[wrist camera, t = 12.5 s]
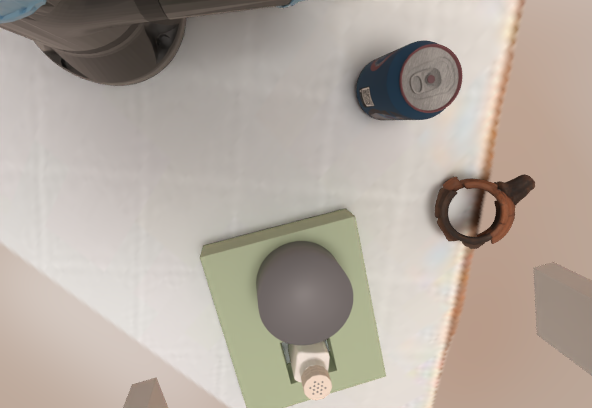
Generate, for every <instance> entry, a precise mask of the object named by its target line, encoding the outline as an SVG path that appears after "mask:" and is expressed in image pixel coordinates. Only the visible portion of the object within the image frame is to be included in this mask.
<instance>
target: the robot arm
mask: <svg viewBox="0 0 592 408" xmlns="http://www.w3.org/2000/svg"><path fill="white" fill-rule="evenodd" d="M301 1H307V0H0V28H3V29H5V30H8V31H11V32H13V33H16V34H18V35H21V36H24V37H26V38H29V39H31V40H34V42H35V43H36V44H37V46H38V47H39V48H40V49H41V50H42V51H43V52H44V53H45V54H46V55H47V56H48V57H49V58H50V59H51V60H52V61H53V62H55V63H56V64H57V65H59V66H60V67H61V68H63V69H64V70H66V71H68V72H70V73H71V74H73V75H75V76H78V77H80V78H83V79H86V80H89V81H92V82H96V83H100V84H105V85H114V86H123V85H131V84H135V83H139V82H142V81H145V80H147V79H149V78H151V77H153V76H154V75H156V74H158V73H159V72H160V71H161V70H163V69H164V68H165V67H166V66H167V65H168V64H169V63H170V61H171V60H172V59H173V57H174V56H175V54H176V53H177V51H178V49H179V47H180V44H181V42H182V39H183V35H184V31H185V24H186V18H187V17H195V16H203V15H210V14H218V13H226V12H234V11H242V10H250V9H258V8H266V7H274V6H275V7H278V8H287V7H288V6H293V5H295V4H296V3H298V2H301ZM534 286H535V307H536V326H537V335H538V336H539V337H541V338H542V339H543V340H545V341H546V342H547V343H549V344H550V345H551V346H553V347H554V348H555V349H557V350H558V351H559V352H561V353H562V354H563V355H565V356H566V357H567V358H569V359H570V360H571V361H573V362H574V363H575V364H577V365H578V366H579V367H581V368H582V369H584V370H585V371H586V372H588V373H589V374H590V375H591V376H592V280H590V279H588V278H586V277H584V276H582V275H580V274H577V273H575V272H573V271H571V270H569V269H567V268H565V267H563V266H561V265H559V264H557V263H554V262H552V263H548V264H545V265H542V266H538V267H535V268H534ZM123 408H168V406H167V403H166V401H165V398H164V396H163V393H162V391H161V388H160V386H159V383H158V380H157V378H153V379H150V380H146V381H143V382H139V383H136V384H133V385H132V386H131V389H130V391H129V394H128V396H127V399H126V402H125V404H124V407H123Z"/></svg>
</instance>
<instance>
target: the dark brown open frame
mask: <svg viewBox="0 0 592 408" xmlns="http://www.w3.org/2000/svg"><path fill="white" fill-rule="evenodd" d="M464 187H465V188H466V189H471V188H479V189H483V190H485V191H488V192H489V193H491V194H492V195H493V196H494V197H495V198H496V199H497V201H495V206H496V216H495V220H494V222H493V224H492V225H491V227H489V228H488V229H487V230H486V231H484V232H482V233H480V234H478V235H477V237H469V236H465V235H462V234H460V233H458V232H457V231H456V230H455V229H454V228H453V227H452V225H451V224H450V221H449V218H448V208H449V204H450V202H451V200H452V199H453V198H454V196H455V195H456V194H457V192H456V191H457V190H459V189H461V188H464ZM534 187H535V182H534V180H533V179H532V178H531V177H530V176H528V175H521V176H518V177H517V178H515V179H512V180H510V181H508V182H506V183H503V182H497V183H496V182H494V183H492V182H488V181H485V180H480V179H463V180H460V181H459V180H458V179H457V177H453V178H451V179H449V180H448V181H446V182H445V183H444V184H443V188H441V189H440V190H439V193H438V196H437V200H436V204H435V217H436V218H438V220H437V224H438V225H439V227H440V229H441V230H442V231H443V233H444V235H445V236H446V239H447V240H448V241H457V240H460V241H462V243H463V244H464V245H465V246H467V247H469V248H470V249H477V248H479V247H480V246H481V245H483V244H484V243H485V242H487V241H489V240H491V243H492V244H494V243H496V242H498V241H499V240H501V239H502V238H503V237H504V236H505V235H506V234H507V233H508V231H509V230H510V228H511V226H512V224H513V221H514V216H515V205H516V204H517V203H518V202H519V201H520V200H522V199H523V198H524V197H525V196H526V195H527V194H528V193H529V192H530V191H531V190H532V189H534Z"/></svg>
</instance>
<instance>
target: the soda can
mask: <svg viewBox="0 0 592 408" xmlns="http://www.w3.org/2000/svg"><path fill="white" fill-rule="evenodd" d="M461 84H462V68H461V65H460V62H459V60H458V58H457V56H456V55H455V54H454V53H453V52H452V51H451V50H450V49H448V48H447V47H445V46H443V45H439V44H437V43H435V42H431V41H417V42H414V43H411V44H409V45H407V46H404V47H402V48H400V49H398V50H395V51H393V52H391V53H389V54H386V55H384V56H382V57H380V58H378V59H375V60H373V61H372V62H370V63H369V64H368V65H367V66H366V67H365V68H364V69H363V70H362V72H361V74H360V76H359V78H358V81H357V88H356V92H357V98H358V102H359V104H360V106H361V108H362V109H363V110H364V111H365V112H366V113H367V114H368V115H369V116H371V117H373V118H375V119H378V120H423V119H428V118H431V117H434V116H436V115H438V114H439V113H441V112H442V111H443V110H444V109H445V108H446V107H447V106H449V105H450V104H451V103H452V102H453V101H454V99H455V98H456V96H457V95H458V93H459V90H460V88H461Z"/></svg>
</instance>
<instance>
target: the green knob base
mask: <svg viewBox="0 0 592 408" xmlns="http://www.w3.org/2000/svg"><path fill="white" fill-rule="evenodd" d="M200 260H201V263H202V266H203V269H204V272H205V276H206V279H207V282H208V285H209V289H210V292H211V295H212V298H213V301H214V305H215V308H216V311H217V314H218V317H219V321H220V324H221V327H222V330H223V334H224V337H225V340H226V343H227V346H228V350H229V353H230V356H231V359H232V362H233V366H234V369H235V372H236V375H237V378H238V382H239V385H240V388H241V391H242V395H243V398H244V401H245V404H246V407H247V408H285V407H288V406H291V405H294V404H297V403H301V402H304V401H307V400H310V399H309V398H308V397H307V396H306V395H305V394H304V390H303V386H302V382H298V381H296V380H295V379H294V376H293V371H292V366H291V363H288V364H287V362H286V358H285V354H284V351H283V347H282V343H281V342H285V343H288V344H292V345H312V344H316V343H319V342H322V341H324V340H326V339H327V342H328V346H329V350H330V351H329V352H328V353H329V356H330V359H329V368H328V373H329V376H330V379H331V383H332V389H331V391H330V393H333V392H336V391H340V390H343V389H346V388H349V387H353V386H356V385H359V384H362V383H366V382H369V381H372V380H375V379H379V378H382V377H385V376H386V373H385V368H384V363H383V358H382V353H381V347H380V342H379V337H378V332H377V327H376V322H375V316H374V311H373V306H372V301H371V296H370V291H369V285H368V280H367V275H366V270H365V265H364V259H363V254H362V249H361V244H360V239H359V234H358V228H357V223H356V218H355V216H354V215H353V214H352V213H350V212H349V211H348V210H347V209H342V210H338V211H334V212H330V213H327V214H323V215H319V216H315V217H311V218H308V219H304V220H300V221H296V222H292V223H288V224H285V225H281V226H277V227H273V228H269V229H265V230H262V231H258V232H254V233H250V234H246V235H243V236H239V237H235V238H231V239H227V240H223V241H220V242H216V243H212V244H208V245H204V246H203V248H202V252H201V255H200ZM330 393H329V394H330Z"/></svg>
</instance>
